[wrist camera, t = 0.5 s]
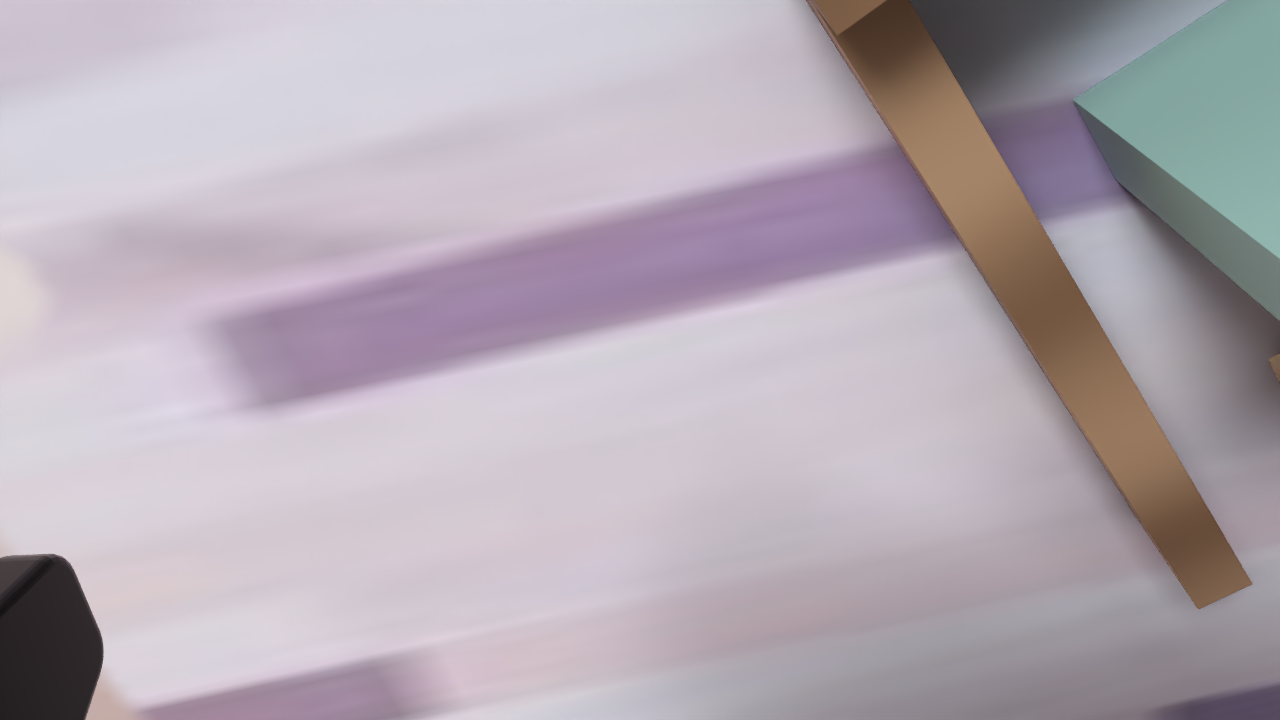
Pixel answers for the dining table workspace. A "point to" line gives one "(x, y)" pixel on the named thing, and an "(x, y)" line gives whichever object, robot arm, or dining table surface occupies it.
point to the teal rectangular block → (1204, 138)
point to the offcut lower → (1276, 365)
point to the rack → (1029, 280)
